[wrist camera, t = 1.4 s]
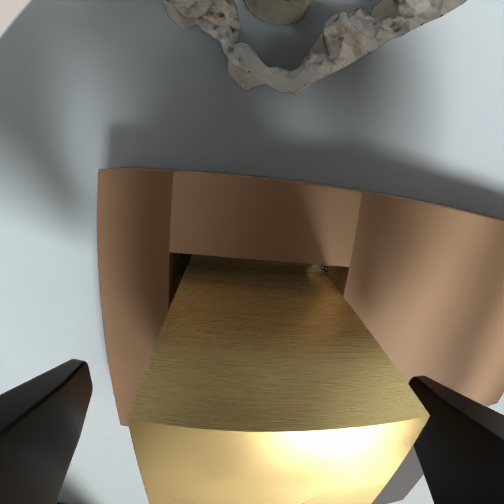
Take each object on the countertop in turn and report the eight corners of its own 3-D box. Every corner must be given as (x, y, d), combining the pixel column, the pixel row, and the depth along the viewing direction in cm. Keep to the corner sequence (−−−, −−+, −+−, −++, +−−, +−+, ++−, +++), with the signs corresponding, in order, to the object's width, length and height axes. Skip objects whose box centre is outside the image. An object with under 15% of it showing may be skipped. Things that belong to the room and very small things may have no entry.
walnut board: (131, 395, 13) (120, 424, 11) (121, 167, 10) (98, 169, 8) (481, 385, 14) (497, 402, 12) (534, 228, 12) (559, 237, 10)
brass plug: (190, 354, 12) (160, 534, 5) (193, 250, 11) (127, 418, 3) (296, 360, 13) (347, 531, 5) (315, 261, 11) (430, 415, 4)
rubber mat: (281, 513, 17) (282, 519, 16) (313, 433, 14) (316, 441, 13) (400, 494, 18) (402, 499, 17) (458, 411, 15) (462, 417, 14)
